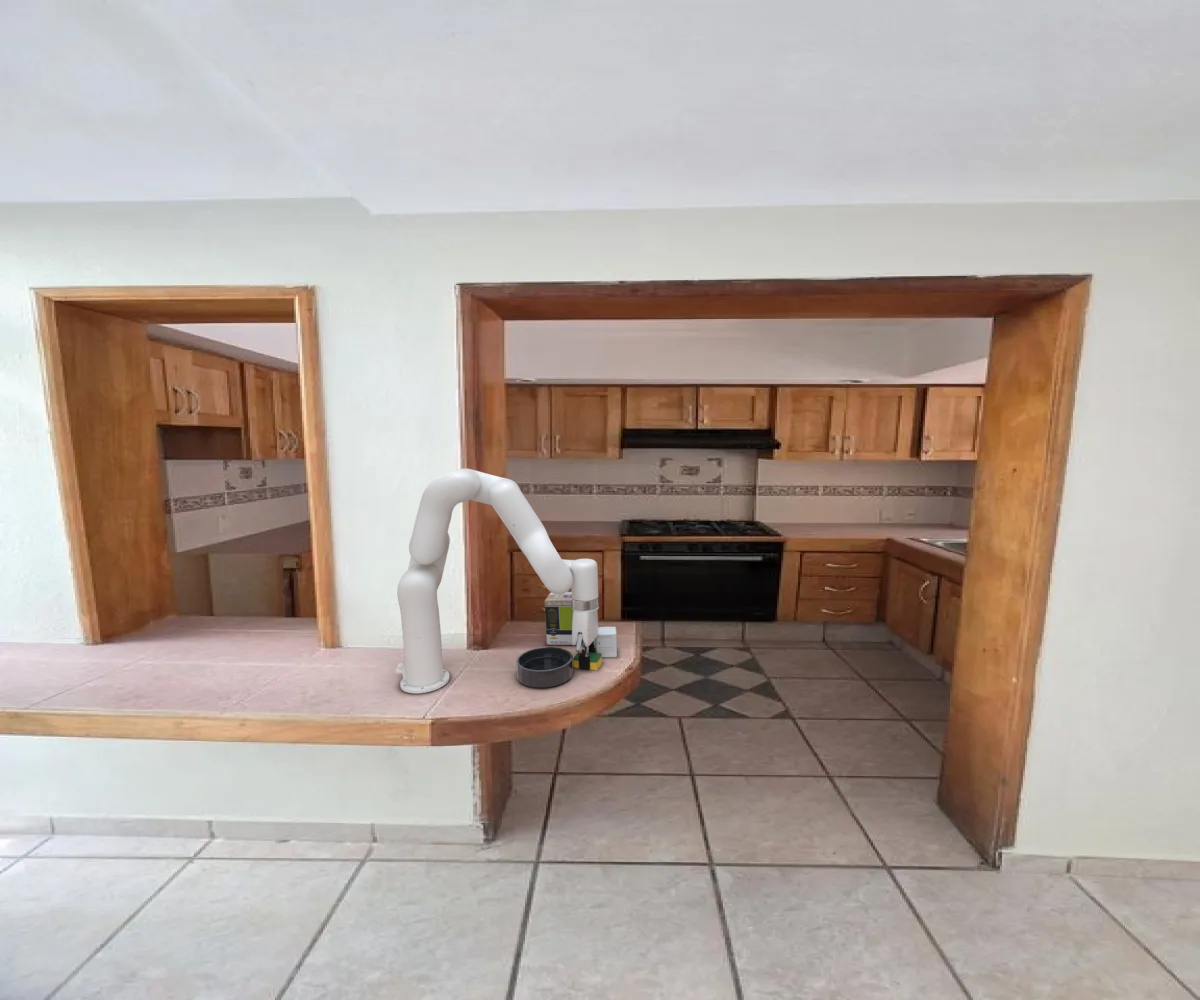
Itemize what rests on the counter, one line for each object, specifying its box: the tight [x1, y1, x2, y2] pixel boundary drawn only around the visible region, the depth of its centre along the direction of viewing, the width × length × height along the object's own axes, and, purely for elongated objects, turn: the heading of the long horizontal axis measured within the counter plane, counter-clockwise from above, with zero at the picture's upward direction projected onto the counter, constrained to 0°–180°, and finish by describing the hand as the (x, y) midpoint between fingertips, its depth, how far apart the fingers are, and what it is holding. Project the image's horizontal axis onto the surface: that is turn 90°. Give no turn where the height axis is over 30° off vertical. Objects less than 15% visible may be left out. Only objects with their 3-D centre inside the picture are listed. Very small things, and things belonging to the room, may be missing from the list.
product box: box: [595, 626, 618, 658], centre depth 149 cm, size 6×6×7 cm
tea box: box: [543, 591, 586, 646], centre depth 160 cm, size 15×10×15 cm, turn 84°
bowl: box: [515, 646, 574, 689], centre depth 136 cm, size 15×15×5 cm
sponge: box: [573, 652, 603, 671], centre depth 142 cm, size 7×4×3 cm, turn 72°
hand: (587, 664), depth 142 cm, fingers closed on sponge, 4 cm apart
